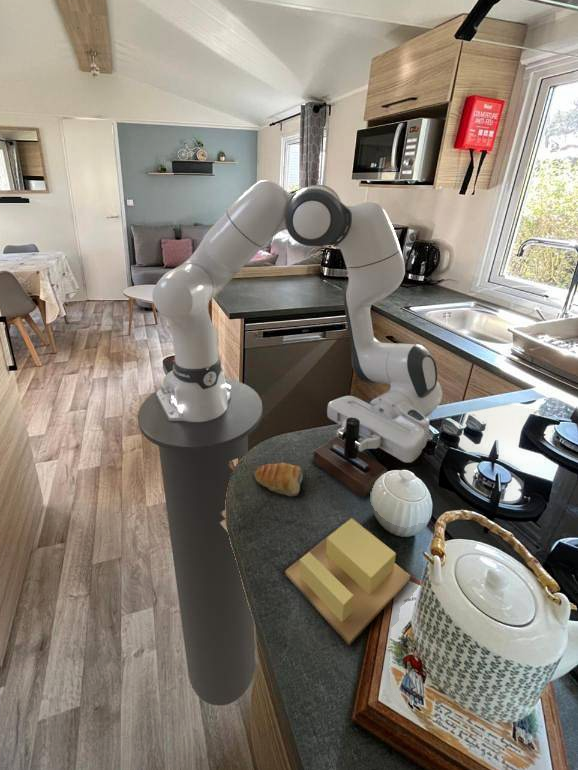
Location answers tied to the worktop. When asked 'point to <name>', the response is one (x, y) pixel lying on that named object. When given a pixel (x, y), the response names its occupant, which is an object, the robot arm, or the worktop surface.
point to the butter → (360, 555)
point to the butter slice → (326, 586)
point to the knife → (351, 445)
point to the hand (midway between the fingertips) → (348, 440)
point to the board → (363, 603)
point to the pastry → (280, 478)
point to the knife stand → (348, 468)
